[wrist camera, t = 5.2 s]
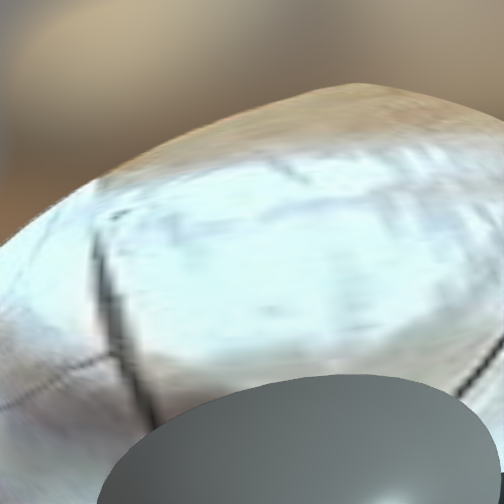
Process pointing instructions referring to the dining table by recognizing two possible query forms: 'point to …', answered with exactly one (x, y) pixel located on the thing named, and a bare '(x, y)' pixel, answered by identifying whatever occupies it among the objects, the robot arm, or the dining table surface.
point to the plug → (315, 448)
